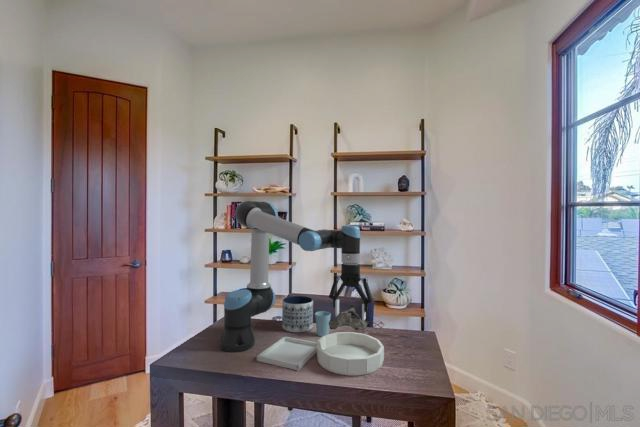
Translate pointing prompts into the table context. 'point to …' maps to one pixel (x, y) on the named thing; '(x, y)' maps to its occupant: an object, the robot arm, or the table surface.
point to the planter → (297, 313)
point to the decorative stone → (348, 320)
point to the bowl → (350, 353)
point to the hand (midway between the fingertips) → (350, 317)
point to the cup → (322, 322)
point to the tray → (289, 353)
